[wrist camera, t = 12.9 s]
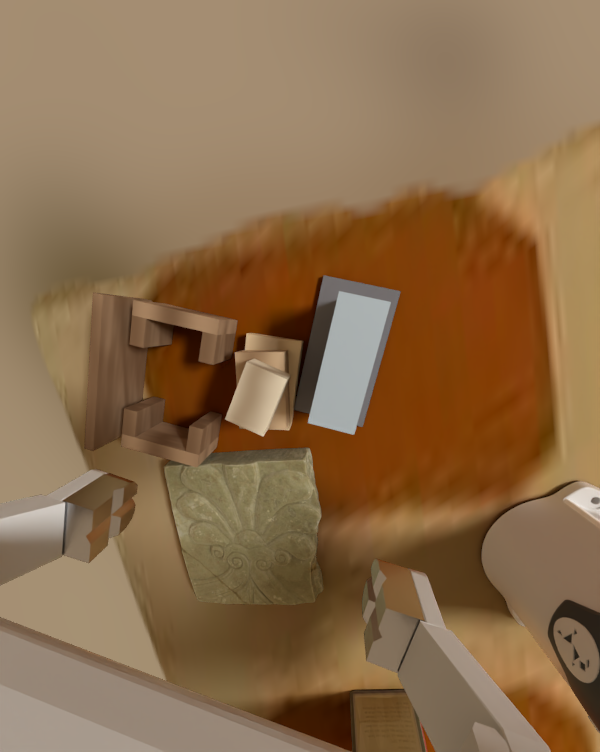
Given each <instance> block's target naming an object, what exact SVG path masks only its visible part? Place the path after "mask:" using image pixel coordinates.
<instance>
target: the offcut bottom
mask: <svg viewBox="0 0 600 752" xmlns="http://www.w3.org/2000/svg"><path fill="white" fill-rule="evenodd" d="M303 343H304V341H302V340H296V339H289V338H282V337H276V336H269V335H263V334H256V333H247V334H246V344H245V350H288V355H289V374H291V376H290V379H289V392H290V423H289V426H288V428H287V430H290V427H291V425H292V420H293V413H294V406H295V399H296V392H297V385H298V378H299V371H300V364H301V357H302V350H303Z"/></svg>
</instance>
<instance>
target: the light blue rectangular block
mask: <svg viewBox="0 0 600 752" xmlns="http://www.w3.org/2000/svg"><path fill="white" fill-rule="evenodd" d="M390 304H391V302H388V301H384V300H379V299H374V298H370V297H365V296H360V295H355V294H351V293H346V292H341V291H339V294H338V298H337V302H336V306H335V310H334V315H333V319H332V323H331V327H330V331H329V336H328V340H327V344H326V348H325V352H324V357H323V361H322V365H321V369H320V373H319V378H318V382H317V386H316V390H315V394H314V399H313V403H312V407H311V411H310V416H309V420H308V423H310V424H314V425H318V426H322V427H326V428H330V429H333V430H337V431H341V432H345V433H349V434H353V435H354V433H355V430H356V426H357V423H358V419H359V416H360V412H361V408H362V405H363V401H364V398H365V394H366V390H367V387H368V383H369V380H370V376H371V372H372V369H373V365H374V362H375V358H376V354H377V351H378V347H379V344H380V340H381V336H382V333H383V329H384V326H385V322H386V318H387V315H388V311H389V308H390Z"/></svg>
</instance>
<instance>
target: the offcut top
mask: <svg viewBox="0 0 600 752" xmlns="http://www.w3.org/2000/svg"><path fill="white" fill-rule="evenodd" d="M290 376H291V374H289V373H286V372H284V371H282V370H280V369H277V368H275V367H273V366H270V365H268V364H266V363H263V362H261V361H259V360H257V359H252V360H249V361H247V362H246V364H245V367H244V370H243V372H242V375H241V378H240V380H239V383H238V386H237V388H236V391H235V394H234V396H233V399H232V402H231V404H230V407H229V410H228V412H227V415H226V418H225V420H227V421H230V422H232V423H234V424H236V425H239V426H241V427H243V428H245V429H248V430H250V431H252V432H254V433H257V434H259V435H261V436H264V435H265V433H266V432H267V430H268V428H269V427H270V424H271V422H272V420H273V417H274V415H275V412H276V410H277V408H278V405H279V403H280V400H281V398H282V396H283V393H284V391H285V388H286V386H287V384H288V381H289V379H290Z"/></svg>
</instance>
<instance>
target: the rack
mask: <svg viewBox="0 0 600 752" xmlns="http://www.w3.org/2000/svg"><path fill="white" fill-rule="evenodd" d="M237 321H238V320H234V319H230V318H226V317H221V316H217V315H212V314H208V313H203V312H199V311H195V310H190V309H186V308H181V307H177V306H173V305H168V304H164V303H155V302H152V301H151V300H146V299H140V298H132V297H124V296H116V295H109V294H101V293H93V302H92V320H91V339H90V357H89V375H88V393H87V411H86V429H85V447H84V449H88V450H92V451H94V450H96V449H98V448H100V447H102V446H104V445H105V444H107V443H109V442H111V441H113V440H115V439H117V438H119V437H121V436H122V439H121V447H125V448H129V449H132V450H136V451H139V452H143V453H147V454H150V455H154V456H157V457H161V458H165V459H168V460H172V461H175V462H179V463H183V464H186V465H190V466H193V467H198V466H199V465H200V464H201V463H202V462H203V461H204V460H205V459H206V458H207V457H208V456H209V455H210V454H211V453H212V452H213V451H214V450H215V449H216V448H217V442H218V436H219V430H220V424H221V418H222V414H220V413H216V412H212V411H210V412H209V413H207V414H206V415H204V416H203V417H201V418H200V419H199V420H197V421H196V422H194V423H193V424H191V425H190V426H189V429H188V428H184V427H181V426H177V425H173V424H169V423H166V422H163V414H164V405H165V399H162V398H158V397H152V398H149V399H147V400H144V401H142V398H143V388H144V378H145V368H146V358H147V348H148V347H154V346H162V345H170V344H172V337H173V328H174V325H176V326H181V327H185V328H189V329H193V330H198V331H202V340H201V347H200V354H199V362H203V363H207V364H211V365H214V364H217V363H220V362H223V361H226V360H229V359H231V357H232V351H233V345H234V339H235V333H236V327H237Z"/></svg>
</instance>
